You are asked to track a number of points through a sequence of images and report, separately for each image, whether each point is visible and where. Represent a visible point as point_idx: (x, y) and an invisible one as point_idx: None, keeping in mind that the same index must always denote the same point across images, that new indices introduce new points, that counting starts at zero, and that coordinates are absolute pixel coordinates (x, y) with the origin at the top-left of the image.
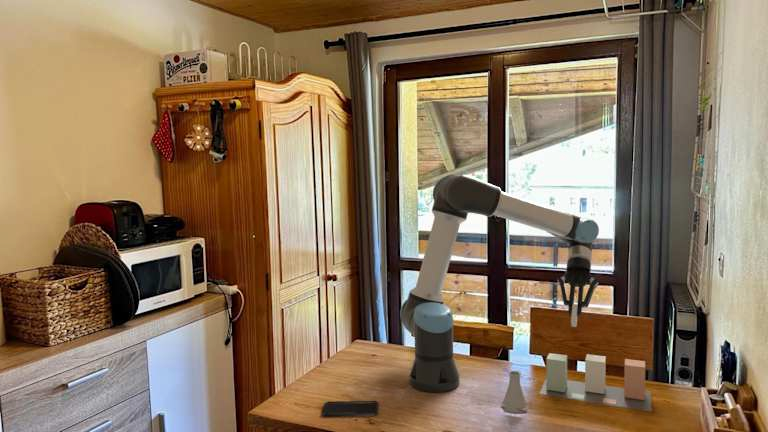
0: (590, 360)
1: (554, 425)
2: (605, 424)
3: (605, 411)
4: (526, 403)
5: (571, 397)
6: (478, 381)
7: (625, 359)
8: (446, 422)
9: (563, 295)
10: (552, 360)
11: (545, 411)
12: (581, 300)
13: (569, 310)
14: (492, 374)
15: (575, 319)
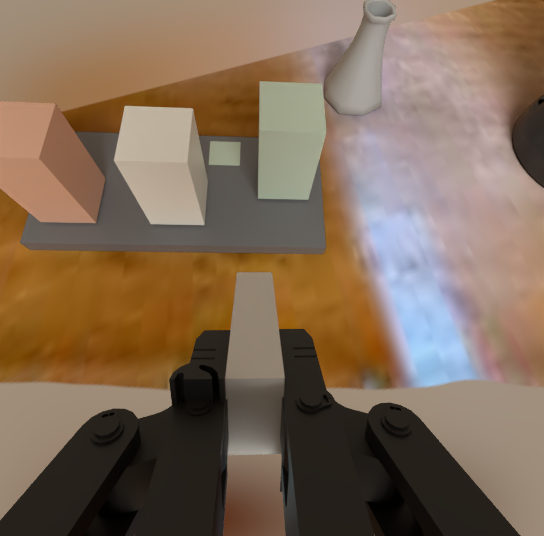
0: (174, 109)
1: (262, 60)
2: (166, 88)
3: None
4: (331, 85)
5: (239, 142)
6: (488, 194)
7: (39, 152)
8: (441, 22)
9: (468, 501)
10: (301, 85)
11: None
12: (166, 439)
13: (304, 348)
14: (481, 252)
15: (241, 282)
